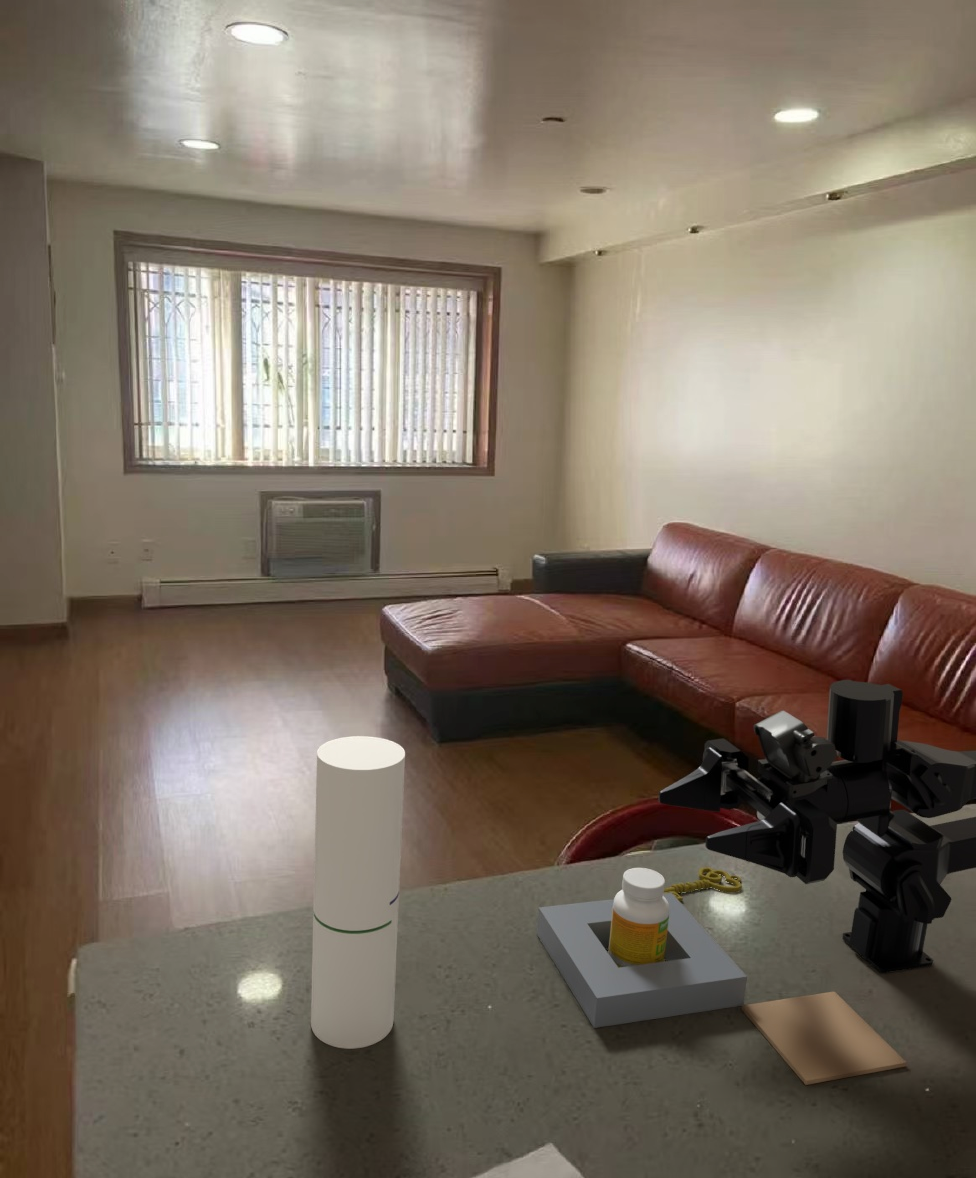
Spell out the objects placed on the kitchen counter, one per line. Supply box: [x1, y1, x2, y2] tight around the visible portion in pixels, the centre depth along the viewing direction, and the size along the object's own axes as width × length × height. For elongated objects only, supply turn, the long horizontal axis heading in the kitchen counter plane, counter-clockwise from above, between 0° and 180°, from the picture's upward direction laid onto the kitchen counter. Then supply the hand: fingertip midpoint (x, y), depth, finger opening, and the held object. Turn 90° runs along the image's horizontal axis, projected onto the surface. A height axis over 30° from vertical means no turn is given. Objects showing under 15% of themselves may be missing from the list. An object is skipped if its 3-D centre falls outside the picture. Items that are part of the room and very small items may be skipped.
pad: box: [741, 991, 907, 1086], centre depth 87 cm, size 10×10×1 cm
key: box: [664, 866, 743, 903], centre depth 112 cm, size 12×1×5 cm
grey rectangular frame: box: [536, 893, 748, 1029], centre depth 96 cm, size 15×15×3 cm
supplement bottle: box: [607, 867, 670, 968], centre depth 95 cm, size 5×5×10 cm
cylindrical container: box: [310, 735, 406, 1050], centre depth 83 cm, size 7×7×25 cm
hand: (681, 819), depth 90 cm, fingers open, 9 cm apart
